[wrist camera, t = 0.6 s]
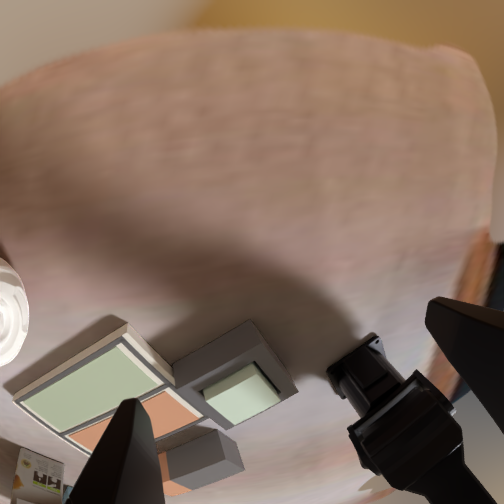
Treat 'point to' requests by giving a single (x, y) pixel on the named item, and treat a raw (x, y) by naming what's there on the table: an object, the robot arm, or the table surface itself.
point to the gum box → (66, 494)
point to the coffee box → (37, 480)
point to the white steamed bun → (12, 313)
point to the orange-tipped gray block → (199, 463)
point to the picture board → (107, 391)
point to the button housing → (229, 368)
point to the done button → (242, 393)
